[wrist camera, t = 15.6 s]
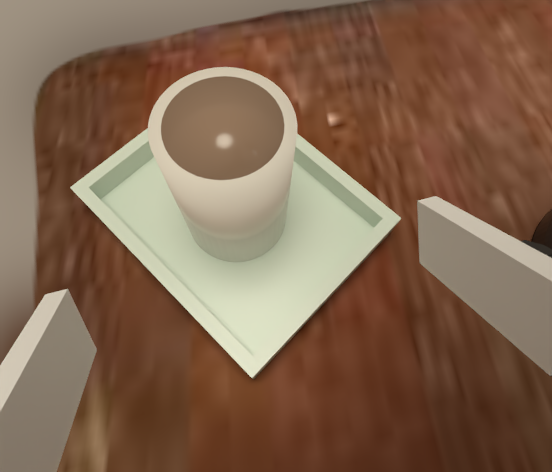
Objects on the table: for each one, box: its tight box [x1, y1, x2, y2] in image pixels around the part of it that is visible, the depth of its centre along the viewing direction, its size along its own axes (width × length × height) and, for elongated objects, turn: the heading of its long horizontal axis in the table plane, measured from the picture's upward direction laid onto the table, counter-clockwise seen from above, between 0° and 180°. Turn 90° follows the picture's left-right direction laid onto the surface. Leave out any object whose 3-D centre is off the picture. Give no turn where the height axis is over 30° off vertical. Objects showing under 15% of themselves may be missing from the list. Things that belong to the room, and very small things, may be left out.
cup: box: [148, 67, 297, 262], centre depth 27 cm, size 8×8×12 cm
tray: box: [70, 128, 401, 379], centre depth 32 cm, size 16×20×3 cm
